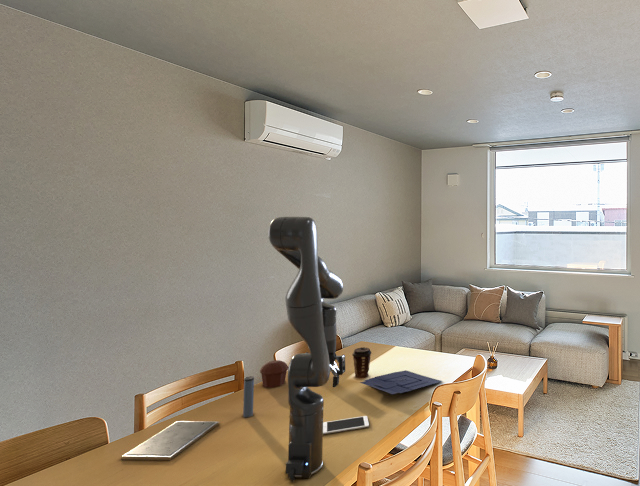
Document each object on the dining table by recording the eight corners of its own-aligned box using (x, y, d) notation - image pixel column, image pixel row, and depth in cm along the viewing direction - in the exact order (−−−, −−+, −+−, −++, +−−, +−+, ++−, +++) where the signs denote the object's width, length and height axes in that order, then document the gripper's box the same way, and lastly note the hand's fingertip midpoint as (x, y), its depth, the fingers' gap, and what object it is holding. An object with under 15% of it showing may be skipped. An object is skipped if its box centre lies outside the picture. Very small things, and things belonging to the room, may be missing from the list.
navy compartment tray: (355, 388, 170) (356, 379, 171) (404, 375, 194) (405, 368, 195) (395, 402, 156) (396, 393, 157) (442, 387, 181) (443, 379, 181)
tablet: (170, 460, 118) (170, 456, 118) (121, 459, 118) (121, 455, 119) (218, 424, 140) (218, 421, 140) (177, 423, 140) (177, 420, 140)
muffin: (289, 377, 185) (289, 356, 185) (287, 386, 174) (288, 364, 175) (261, 381, 180) (261, 359, 181) (257, 390, 170) (257, 367, 170)
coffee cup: (364, 372, 193) (364, 345, 193) (374, 376, 188) (375, 349, 188) (348, 377, 186) (349, 349, 187) (359, 381, 181) (359, 353, 181)
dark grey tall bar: (249, 417, 146) (250, 379, 146) (241, 417, 146) (242, 379, 146) (254, 413, 149) (255, 376, 149) (246, 413, 149) (247, 376, 149)
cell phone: (320, 424, 141) (320, 422, 141) (367, 417, 146) (367, 415, 146) (320, 435, 133) (320, 433, 133) (369, 427, 139) (369, 425, 139)
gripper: (297, 339, 127) (296, 389, 127) (340, 341, 126) (338, 392, 126) (309, 332, 134) (307, 380, 134) (349, 335, 134) (347, 382, 134)
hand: (322, 385), depth 130 cm, fingers open, 8 cm apart
